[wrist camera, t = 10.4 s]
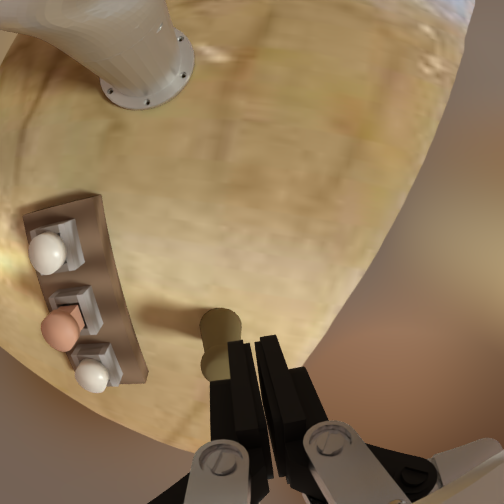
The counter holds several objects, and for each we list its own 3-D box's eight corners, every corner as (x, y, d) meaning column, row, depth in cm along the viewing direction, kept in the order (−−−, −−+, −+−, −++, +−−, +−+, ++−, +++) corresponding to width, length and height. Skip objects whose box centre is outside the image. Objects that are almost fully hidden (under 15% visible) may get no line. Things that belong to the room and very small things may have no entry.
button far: (81, 347, 37) (69, 366, 32) (108, 346, 37) (98, 366, 33) (92, 372, 38) (82, 392, 34) (118, 372, 39) (110, 393, 34)
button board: (33, 211, 34) (10, 219, 28) (101, 194, 35) (82, 200, 29) (86, 373, 42) (75, 395, 36) (148, 371, 43) (142, 396, 37)
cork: (193, 335, 42) (189, 384, 31) (208, 301, 40) (207, 346, 30) (231, 348, 43) (237, 398, 33) (248, 316, 42) (258, 362, 31)
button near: (44, 229, 32) (24, 238, 27) (72, 223, 32) (53, 231, 27) (52, 264, 33) (34, 276, 28) (80, 259, 33) (63, 272, 29)
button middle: (52, 300, 32) (35, 317, 27) (81, 297, 32) (65, 315, 27) (64, 332, 33) (50, 351, 29) (92, 330, 34) (79, 351, 29)
